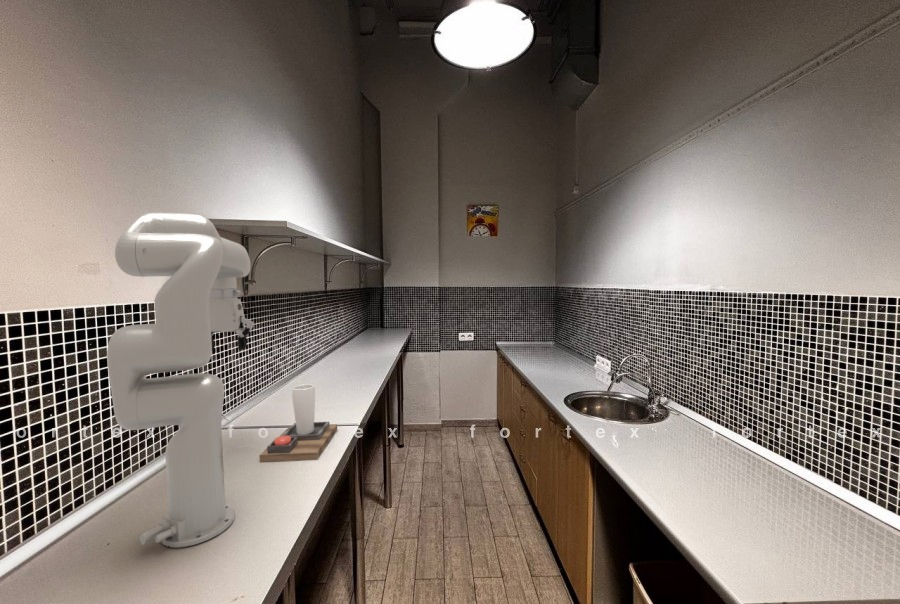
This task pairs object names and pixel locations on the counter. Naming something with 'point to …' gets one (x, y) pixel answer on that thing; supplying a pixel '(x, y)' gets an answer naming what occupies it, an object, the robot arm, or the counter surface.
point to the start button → (282, 440)
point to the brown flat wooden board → (300, 444)
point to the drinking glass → (304, 408)
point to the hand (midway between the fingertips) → (226, 350)
